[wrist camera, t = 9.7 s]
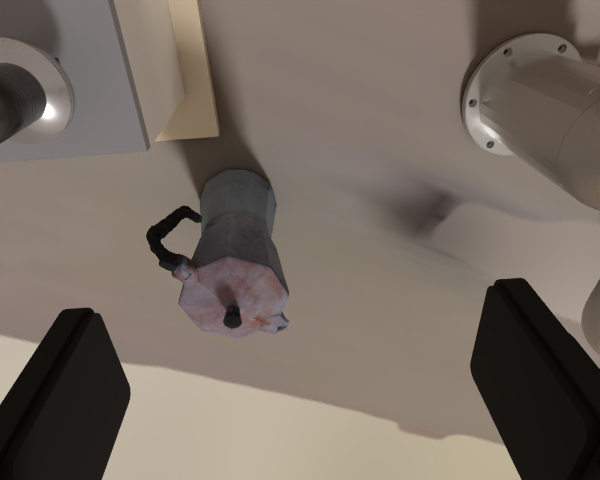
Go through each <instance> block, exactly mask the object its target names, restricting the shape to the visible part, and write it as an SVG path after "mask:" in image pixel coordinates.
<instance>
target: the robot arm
mask: <svg viewBox="0 0 600 480" xmlns="http://www.w3.org/2000/svg"><path fill="white" fill-rule="evenodd" d="M558 48H559V49H558ZM505 49H506V52H505V53H504V50H505ZM471 99H472V101H471V102H470V103H469V101H470V100H471ZM462 119H463V124H464V127H465V129H466V131H467V134H468V135H469V136H470V138H471V139H472V140H473V141H474V142H475V143H476V144H477V145H478V146H479V147H481V148H482V149H484V150H485V151H487V152H490V153H493V154H496V155H504V156H509V155H517V156H518V157H520V158H521V159H522V160H524V161H525V162H526V163H528V164H529V165H530V166H532V167H533V168H534V169H536V170H537V171H538V172H540V173H541V174H542V175H544V176H545V177H546V178H548V179H549V180H550V181H552V182H553V183H554V184H556V185H557V186H559V187H560V188H561V189H563V190H564V191H565V192H567V193H568V194H570V195H571V196H572V197H574V198H575V199H576V200H578V201H579V202H581V203H583V204H584V205H586V206H588V207H590V208H593V209H596V210H599V211H600V67H598V66H595V65H591V64H588V63H584V62H583V61H582V58H581V56H580V55H579V53H578V51H577V49H576V48H575V47H574V46H573V45H572V44H571V43H570V42H568V41H567V40H565V39H563V38H562V37H559V36H556V35H552V34H547V33H540V32H539V33H527V34H524V35H520V36H516V37H514V38H512V39H510V40H508V41H506V42H504V43H502V44H501V45H499V46H498V47H496V48H495V49H494V50H492V51H491V52H490V53H489V54H488V55H487V56H486V57H485V58H484V59H483V60H482V61H481V62H480V64H479V65H478V66H477V68H476V69H475V70H474V72H473V74H472V76H471V77H470V79H469V81H468V83H467V86H466V89H465V91H464V95H463V101H462ZM581 325H582V329H583V333H584V335H585V337H586V339H587V341H588V343H589V344H590V346H591V347H592V348H593V350H594V351H595V352H596V353H597V354H598V355H599V356H600V279H599V281H598V282H597V285H596V286H595V288H594V290H593V291H592V293H591V294H590V296H589V298H588V300H587V302H586V304H585V307H584V309H583V313H582V321H581ZM470 368H471V373H472V377H473V379H474V381H475V383H476V385H477V387H478V389H479V392H480V394H481V396H482V398H483V400H484V402H485V404H486V406H487V408H488V410H489V413H490V415H491V417H492V419H493V421H494V423H495V425H496V427H497V429H498V431H499V434H500V436H501V438H502V440H503V442H504V444H505V446H506V448H507V450H508V452H509V454H510V457H511V459H512V461H513V463H514V465H515V467H516V469H517V471H518V473H519V475H520V477H521V480H600V369H599V368H598V367H597V365H596V364H595V363H594V362H593V360H592V359H591V358H590V357H589V355H588V354H587V353H586V352H585V351H584V349H583V348H582V347H581V346H580V344H579V343H578V342H577V341H576V339H575V338H574V337H573V336H572V335H571V334H570V333H568V332H567V331H566V329H565V328H564V327H563V326H562V325H561V323H560V322H559V321H558V320H557V318H556V317H555V316H554V315H553V313H552V312H551V311H550V310H549V308H548V307H547V306H546V305H545V303H544V302H543V301H542V300H541V298H540V297H539V296H538V295H537V293H536V292H535V291H534V290H533V288H532V287H531V286H530V285H529V284H528V282H527V281H526V280H525V279H523V278H512V279H499V280H496V282H495V283H494V286H489V287H488V289H487V292H486V297H485V301H484V305H483V310H482V314H481V319H480V323H479V327H478V332H477V336H476V341H475V345H474V349H473V354H472V358H471V363H470ZM129 400H130V386H129V383H128V381H127V378H126V376H125V373H124V371H123V368H122V366H121V363H120V361H119V358H118V356H117V354H116V351H115V349H114V346H113V344H112V341H111V339H110V336H109V334H108V331H107V329H106V326H105V324H104V322H103V319H102V317H101V315H100V314H99V313H94V311H93V310H92V309H91V308H75V309H65V310H62V311H61V313H60V314H59V315H58V317H57V318H56V320H55V321H54V323H53V325H52V326H51V328H50V329H49V331H48V332H47V334H46V335H45V337H44V338H43V340H42V341H41V343H40V344H39V346H38V348H37V349H36V351H35V352H34V354H33V355H32V357H31V358H30V360H29V361H28V363H27V365H26V366H25V368H24V369H23V371H22V372H21V374H20V375H19V377H18V378H17V380H16V381H15V383H14V384H13V386H12V388H11V389H10V391H9V392H8V394H7V395H6V397H5V398H4V400H3V401H2V403H1V404H0V480H102V477H103V474H104V472H105V469H106V466H107V463H108V460H109V457H110V455H111V452H112V449H113V446H114V443H115V441H116V438H117V435H118V432H119V429H120V426H121V423H122V420H123V417H124V415H125V412H126V409H127V407H128V403H129Z"/></svg>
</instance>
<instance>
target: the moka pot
mask: <svg viewBox="0 0 600 480" xmlns="http://www.w3.org/2000/svg"><path fill="white" fill-rule="evenodd" d="M275 212H276V200H275V196H274V193H273V190H272V187H271V185H270V184H269V183H268V182H267V181H266V180H264V179H263V178H262V177H260V176H259V175H257V174H256V173H254V172H252V171H247V170H241V169H236V170H226V171H223V172H221V173H219V174H218V175H216V176H214V177H213V178H211V179H210V180H208V181H207V182H206V183H205V186H204V189H203V192H202V196H201V200H200V213H201V215H199V214H198V213H196V212H194V211H193V210H191V208H190V207H188V206H181V207H180V208H178V209H176V210H174V212H173V213H171V214H169V215H168V216H167V217H166V218H165V219H163V220H161V221H160V222H159V223H158V224H156V225H154V226H151V228H150V229H149V231H148V232H147V235H146V237H147V240H148V243H149V245H150V249H151V251H152V252H153V253H155V254H156V256H157V257H158V259H159V260H160V261H159V266H161V267H163V268H164V269H166V270H169V271H172V276H173V277H175V278H176V279H178V280H180V281H181V282H183V283H184V284H183V287H182V291H181V294H180V298H179V303H178V304H179V305H180V306H181V308H182V309H183V310H184V311H185V312H186V313H187V315H188V316H189V317H190V318H191V319H192V321H193V322H194V323H195V324H196V325H197V326H198V327H199V328H200V329H201V330H202V331H206V332H211V333H217V334H222V335H227V336H231V337H236V338H242V337H245V336H247V335H250V334H253V333H256V332H259V331H264V332H269V333H277V332H283V331H285V330H286V329H287V328H289V327H290V326H291V323H290V321H288V320H287V319H286V318H285V316H284V314H283V312H282V310H283V308H284V306H285V304H286V302H287V299H288V297H289V291H288V287H287V284H286V281H285V277H284V274H283V271H282V267H281V263H280V260H279V256H278V253H277V249H276V247H275V245H274V243H273V242H272V240H271V236H272V231H273V225H274V218H275ZM184 218H189V219H191V220H192V221H194V222H196V223H199V222H200V223H201V231H202V235H201V238H200V240H199V243H198V245H197V248H196V250H195V252H194V255H193V257H192V260H191V259H189V258H188V257H186V256H184V255H181V254H175V253H172V252H170V251H168V250H167V249H166V248H164V246H163V245H162V244H161V239H162V238H165V237H166V235H167V234H168V233H169V232H170V231H172V230H173V228H175V227H176V226H177V225H178V223H179V222H180V221H181V220H182V219H184Z"/></svg>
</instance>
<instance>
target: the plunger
mask: <svg viewBox="0 0 600 480" xmlns="http://www.w3.org/2000/svg"><path fill="white" fill-rule="evenodd" d="M74 113H75V94H74V90H73V87H72V84H71V81H70V79H69V77H68V76H67V74H66V72H65V71H64V69H63V68H62V66H61V65H60V62H57V61H56V60H55V59H54V58H53V57H52V56H51V55H50V54H49V53H48V52H47V51H45V50H44V49H42V48H41V47H39V46H38V45H36V44H34V43H32V42H30V41H28V40H25V39H22V38H18V37H14V36H0V144H1V143H2V142H4V141H6V140H10V141H13V142H17V143H21V144H40V143H44V142H48V141H50V140H52V139H54V138H55V137H57V136H58V135H59V134H61V133H62V132H63V131H64V130H65V129H66V128H67V127H68V126H69V125H70V123H71V121H72V119H73V116H74Z"/></svg>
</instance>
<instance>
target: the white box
mask: <svg viewBox="0 0 600 480" xmlns="http://www.w3.org/2000/svg"><path fill="white" fill-rule="evenodd" d="M0 36H14V37H18V38H22V39H25V40H28V41H30V42H32V43H34V44H36V45H38V46H39V47H41V48H42V49H44V50H45V51H47V52H48V53H49V54H50V55H51V56H52V57H53V58H54V59H55V60H56V61H57V62H60V65H61V66H62V68H63V69H64V71H65V72H66V74H67V76H68V77H69V79H70V81H71V84H72V87H73V90H74V94H75V113H74V116H73V119H72V121H71V123H70V125H69V126H68V127H67V128H66V129H65V130H64V131H63V132H62V133H61V134H59V135H58V136H57V137H55V138H54V139H52V140H50V141H48V142H44V143H40V144H21V143H17V142H13V141H10V140H6V141H4V142H2V143H1V144H0V162H13V161H26V160H40V159H53V158H67V157H81V156H94V155H108V154H121V153H135V152H147V151H148V150H149V148H150V147H151V145H152V144H153V142H154V141H165V140H179V139H192V138H206V137H219V134H220V127H219V121H218V115H217V109H216V102H215V96H214V90H213V84H212V77H211V71H210V65H209V58H208V52H207V46H206V40H205V33H204V27H203V21H202V14H201V8H200V2H199V0H0Z"/></svg>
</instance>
